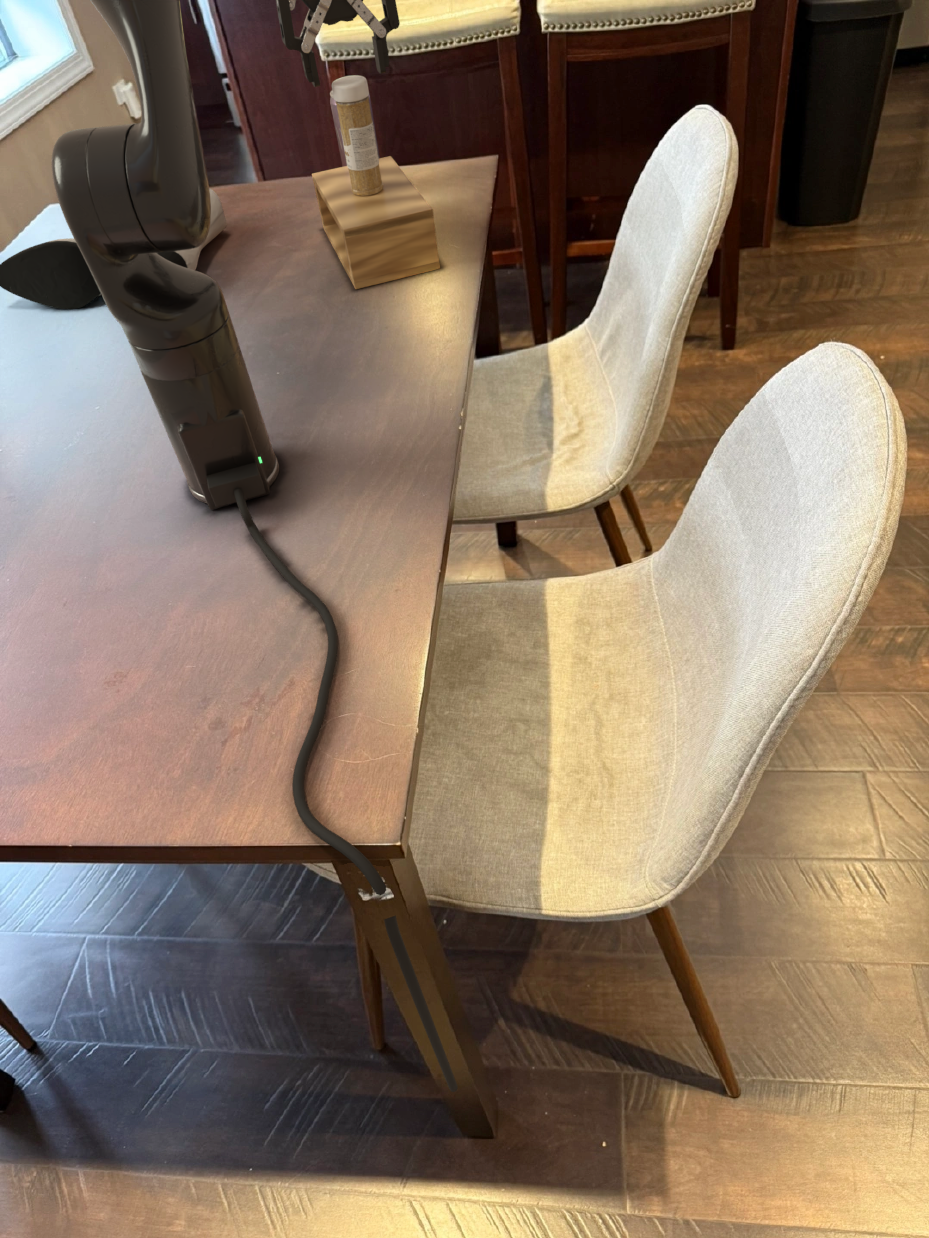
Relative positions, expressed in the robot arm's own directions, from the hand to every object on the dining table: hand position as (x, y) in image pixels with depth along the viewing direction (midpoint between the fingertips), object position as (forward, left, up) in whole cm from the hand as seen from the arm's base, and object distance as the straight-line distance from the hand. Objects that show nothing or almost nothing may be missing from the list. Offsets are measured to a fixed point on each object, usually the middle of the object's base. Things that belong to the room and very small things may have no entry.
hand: (349, 78), depth 109 cm
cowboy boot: (+13, +35, -22) cm, 44 cm away
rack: (0, 0, -22) cm, 22 cm away
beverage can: (+20, -3, -22) cm, 30 cm away
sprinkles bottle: (0, 0, -14) cm, 14 cm away
